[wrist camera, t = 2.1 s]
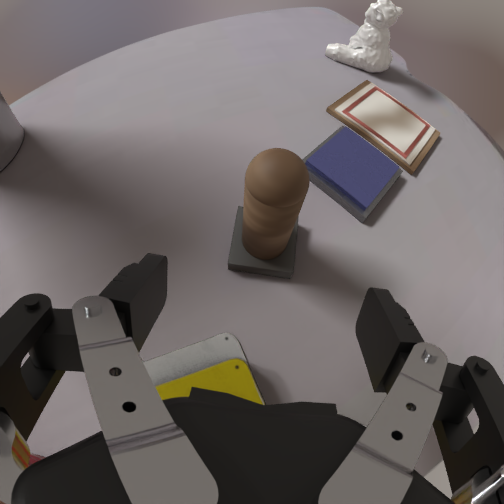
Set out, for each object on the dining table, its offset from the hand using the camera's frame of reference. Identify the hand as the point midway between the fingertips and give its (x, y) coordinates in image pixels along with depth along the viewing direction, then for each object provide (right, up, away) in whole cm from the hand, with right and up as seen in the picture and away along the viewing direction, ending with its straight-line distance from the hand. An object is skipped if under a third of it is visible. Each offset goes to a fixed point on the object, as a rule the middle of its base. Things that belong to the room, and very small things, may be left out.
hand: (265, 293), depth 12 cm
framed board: (+16, +17, +21) cm, 31 cm away
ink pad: (+9, +9, +18) cm, 22 cm away
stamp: (0, +2, +14) cm, 14 cm away
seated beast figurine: (+16, +30, +26) cm, 43 cm away
